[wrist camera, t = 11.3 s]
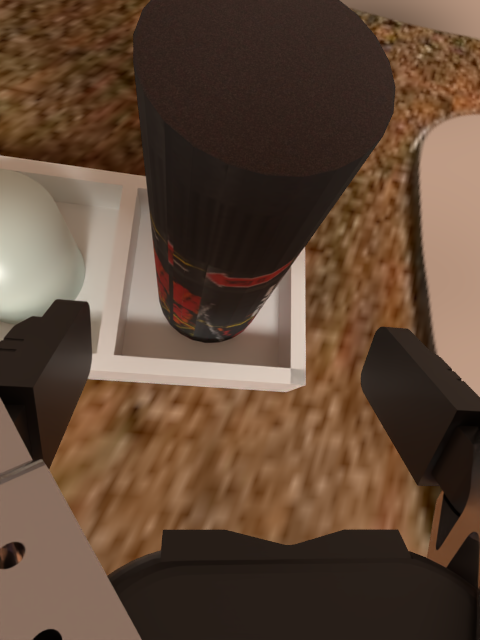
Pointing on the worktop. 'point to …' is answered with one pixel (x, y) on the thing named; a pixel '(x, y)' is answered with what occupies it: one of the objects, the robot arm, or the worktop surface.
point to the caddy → (128, 283)
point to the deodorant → (248, 143)
